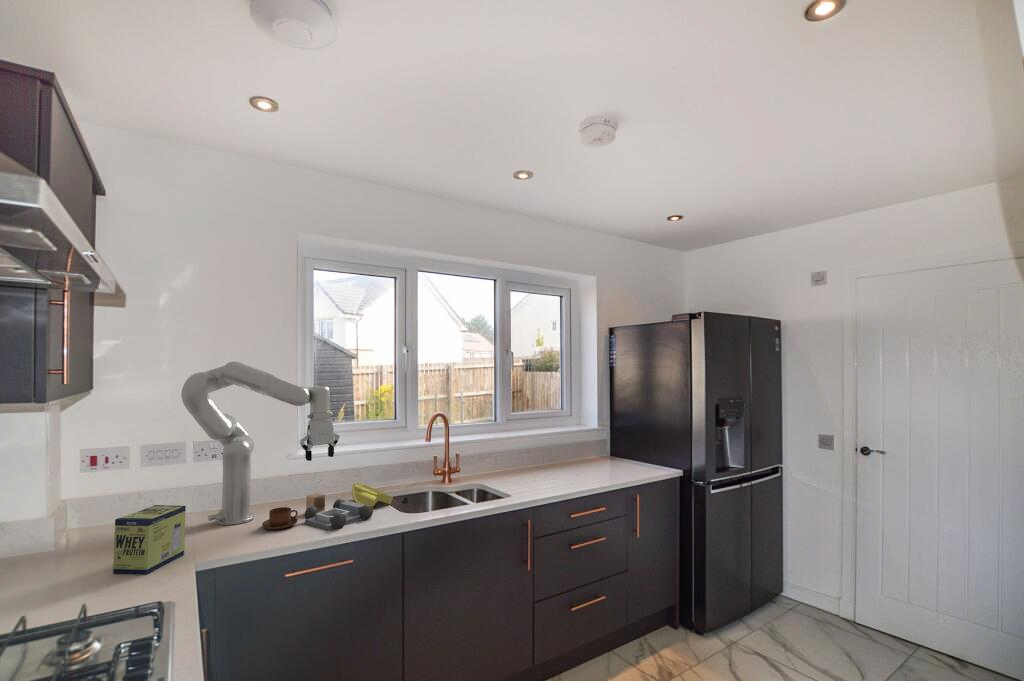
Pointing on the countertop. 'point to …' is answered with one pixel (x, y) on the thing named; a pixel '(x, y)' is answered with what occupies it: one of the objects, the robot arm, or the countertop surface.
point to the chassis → (338, 514)
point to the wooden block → (316, 501)
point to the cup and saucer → (280, 518)
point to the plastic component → (369, 495)
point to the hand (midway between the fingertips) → (320, 458)
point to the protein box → (148, 539)
